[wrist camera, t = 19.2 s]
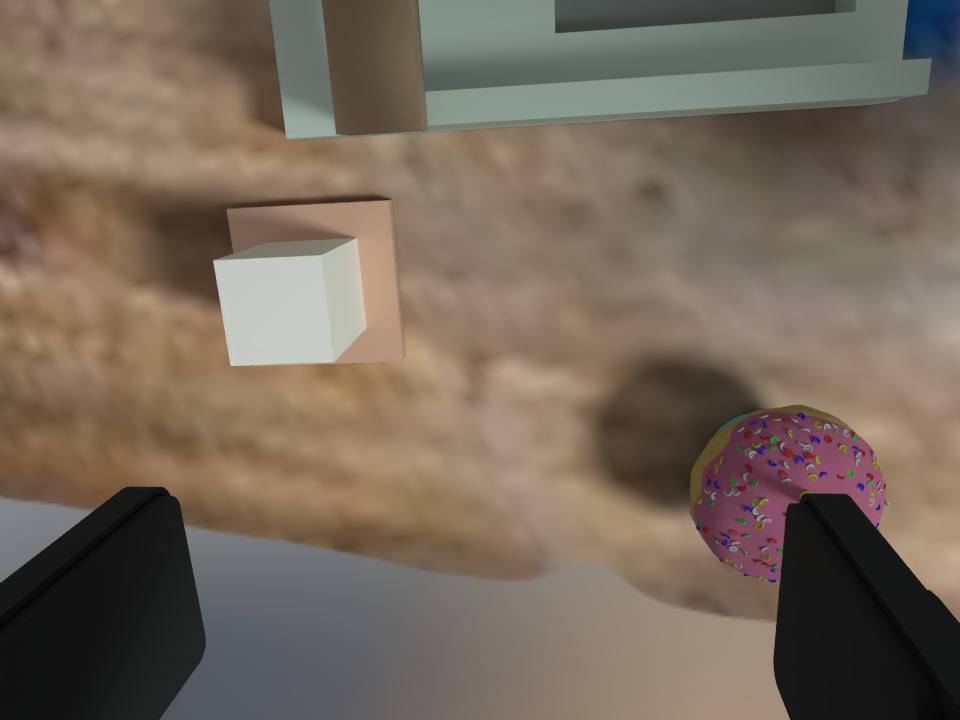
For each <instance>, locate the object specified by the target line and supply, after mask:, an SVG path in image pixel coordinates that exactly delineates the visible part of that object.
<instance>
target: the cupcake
mask: <svg viewBox="0 0 960 720" xmlns="http://www.w3.org/2000/svg"><path fill="white" fill-rule="evenodd" d="M885 486H886V484H885V483H884V480H883V477H882V474H881V471H880V468H879V465H878V462H877V459H876V457H875V451H872V449H871V447H870V446H869V445H868V444H867V443H866V442H865V441H864V440H863V439H862V438H861V437H859V436H858V435H857V434H856V433H855V432H854V431H853V430H852V429H851V428H850V427H849V426H848V425H847V424H845V423H844V422H842V421H841V420H840V419H838V418H836V417H835V416H833V415H830V414H828V413H825V412H822V411H819V410H816V409H813V408H810V407H807V406H803V405H791V406H786V407H781V408H774V409H760V410H756V411H754V412H752V413H748V414H744V415H741V416H738V417H736V418H733V419H732V420H730V421H728V422H727V423H725V424H724V425H723V426H722V427H721V428H720V429H719V430H718V431H717V432H716V434H715V435H714V436H713V437H712V438H711V439H710V441H709V442H708V444H707V445H706V447H705V449H704V450H703V452H702V453H701V455H700V456H699V457H698V459H697V461H696V462H695V464H694V466H693V469H692V472H691V478H690V498H691V503H690V514H691V517H692V519H693V521H694V523H695V525H696V529H697V530H698V531H699V533H700V535H701V537H702V538H703V540H704V541H705V543H706V544H707V545H708V546H709V548H710V549H711V551H712V552H713V553H714V554H715V555H716V556H717V557H719V558H720V559H719V560H720V561H722V562H724V563H727V564H729V565H730V566H732V567H733V568H735V569H736V570H738V571H740V572H742V573H744V576H748V575H749V576H752V577H755V578H758V579H759V580H762V581H765V580H768V581H770V582H776V581H780V577H781V565H782V554H783V542H784V530H785V519H786V510H787V507H788V505H789V504H790V503H799V502H800V499H801V496H802V495H803V494H804V493H830V494H848V495H849V496H850V497H851V498H852V499H853V500H854V501H855V503H856V504H857V505H858V506H859V508H860V509H861V510H862V511H863V512H864V514H865V515H866V516H867V517H868V519H869V520H870V521H871V522H872V523H873V525H874V526H875V527H876V528H877V527H878V528H877V530H879V520H880V518H881V515H882V511H883V508H884V503H885V504H886V505H889V503H888V502H887V501H886V500H885V494H886V489H885Z"/></svg>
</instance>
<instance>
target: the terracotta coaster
mask: <svg viewBox="0 0 960 720" xmlns="http://www.w3.org/2000/svg"><path fill="white" fill-rule="evenodd" d="M227 215H228V222H229V228H230V235H231V241H232V247H233V254H234V253H237V252H240V251H243V250H246V249H249V248H252V247H255V246H258V245H261V244H264V243H267V242H285V241H305V240H325V239H345V238H357V242H358V251H359V261H360V270H361V280H362V289H363V299H364V308H365V317H366V327H367V328H366V329H365V330H364V331H363V332H362V333H361V334H360V335H359V336H358V338H357V339H356V340H355V341H354V342H353V343H352V344H351V345H350V346H349V347H348V348H347V349H346V350H345V351H344V352H343V353H342V354H341V355H340V356H339V358H338V359H337V360H336V361H335V362H328V363H299V364H270V365H251V366H278V365H308V364H339V363H369V362H399V361H404V359H405V358H406V352H405V341H404V330H403V318H402V307H401V296H400V285H399V274H398V262H397V251H396V240H395V229H394V218H393V206H392V199H391V200H372V201H353V202H334V203H315V204H297V205H278V206H259V207H240V208H230V209H227Z"/></svg>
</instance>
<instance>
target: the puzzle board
mask: <svg viewBox="0 0 960 720" xmlns="http://www.w3.org/2000/svg"><path fill="white" fill-rule="evenodd" d="M418 2H419V15H420V29H421V43H422V56H423V70H424V84H425V98H426V111H427V125H428V131H419V132H403V133H387V134H371V135H354V136H348V135H337V134H336V129H335V120H334V111H333V102H332V92H331V83H330V74H329V65H328V56H327V46H326V37H325V28H324V19H323V10H322V0H269V7H270V15H271V22H272V30H273V38H274V46H275V54H276V61H277V69H278V77H279V85H280V93H281V101H282V108H283V116H284V124H285V132H286V139H298V140H310V139H326V138H342V137H359V136H375V135H391V134H408V133H424V132H440V131H456V130H473V129H489V128H505V127H522V126H538V125H554V124H571V123H587V122H603V121H620V120H636V119H652V118H668V117H685V116H701V115H717V114H734V113H750V112H766V111H783V110H799V109H815V108H832V107H848V106H864V105H874V104H881V103H888V102H895V101H898V99H901V98H907V97H914V96H921V95H927V94H928V87H929V78H930V70H931V61H932V58H926V59H911V60H902V56H903V47H904V37H905V28H906V19H907V9H908V0H418Z"/></svg>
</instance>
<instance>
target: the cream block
mask: <svg viewBox="0 0 960 720" xmlns="http://www.w3.org/2000/svg"><path fill="white" fill-rule="evenodd" d="M213 262H214V268H215V274H216V280H217V286H218V292H219V298H220V304H221V310H222V316H223V322H224V328H225V334H226V340H227V346H228V352H229V358H230V365H231V366H241V365H270V364H299V363H328V362H335V361H336V360H337V359H338V358H339V356H340V355H341V354H342V353H343V352H344V351H345V350H346V349H347V348H348V347H349V346H350V345H351V344H352V343H353V342H354V341H355V340H356V339H357V338H358V336H359V335H360V334H361V333H362V332H363V331H364V330H365V329H366V328H367V327H366V317H365V308H364V299H363V289H362V280H361V270H360V261H359V251H358V242H357V238H345V239H325V240H305V241H285V242H267V243H264V244H261V245H258V246H255V247H252V248H249V249H246V250H243V251H240V252H237V253H234V254H231V255H228V256H225V257H222V258H219V259H216V260H213Z"/></svg>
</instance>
